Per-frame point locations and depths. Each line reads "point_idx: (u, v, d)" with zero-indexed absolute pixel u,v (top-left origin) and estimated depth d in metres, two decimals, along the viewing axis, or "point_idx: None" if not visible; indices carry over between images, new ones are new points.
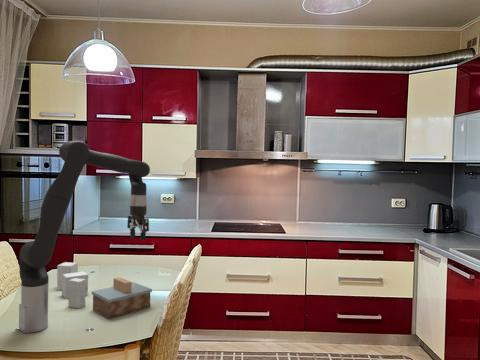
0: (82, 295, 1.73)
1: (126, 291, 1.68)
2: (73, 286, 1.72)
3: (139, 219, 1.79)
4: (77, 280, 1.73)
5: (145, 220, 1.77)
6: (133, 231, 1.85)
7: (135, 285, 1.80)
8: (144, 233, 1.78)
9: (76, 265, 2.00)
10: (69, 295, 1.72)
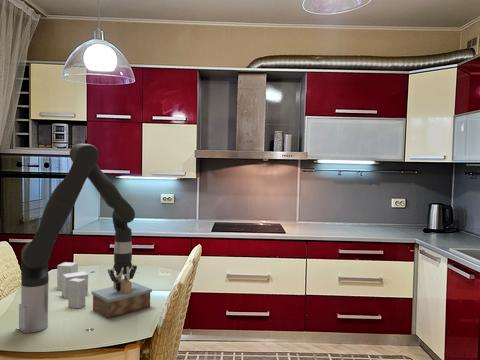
0: (82, 295, 1.73)
1: (126, 291, 1.68)
2: (73, 286, 1.72)
3: (130, 267, 1.74)
4: (77, 280, 1.73)
5: None
6: None
7: (135, 285, 1.80)
8: None
9: (76, 265, 2.00)
10: (69, 295, 1.72)
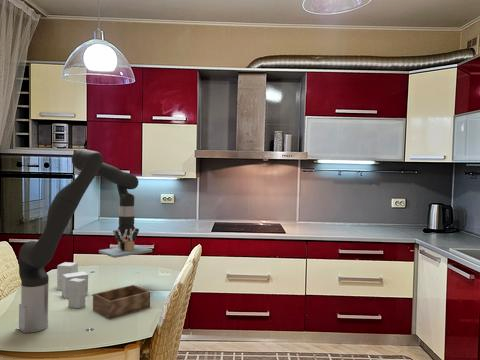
0: (82, 295, 1.73)
1: (129, 250, 1.90)
2: (73, 286, 1.72)
3: (132, 229, 1.96)
4: (77, 280, 1.73)
5: None
6: None
7: (137, 246, 2.02)
8: None
9: (76, 265, 2.00)
10: (69, 295, 1.72)
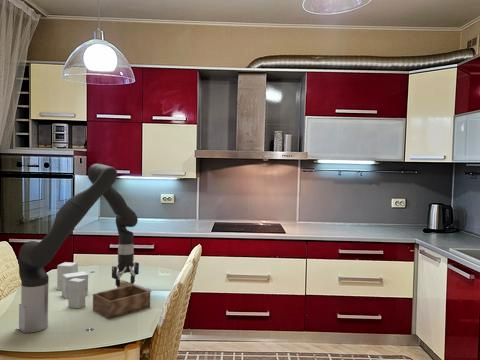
0: (82, 295, 1.73)
1: None
2: (73, 286, 1.72)
3: (131, 265, 1.96)
4: (77, 280, 1.73)
5: None
6: None
7: None
8: None
9: (76, 265, 2.00)
10: (69, 295, 1.72)
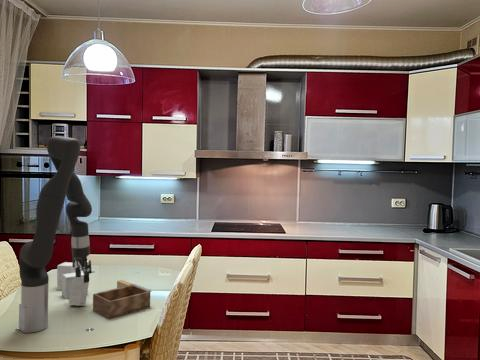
0: (84, 293, 1.74)
1: None
2: (77, 283, 1.74)
3: None
4: (81, 277, 1.76)
5: None
6: None
7: None
8: None
9: None
10: (72, 292, 1.74)
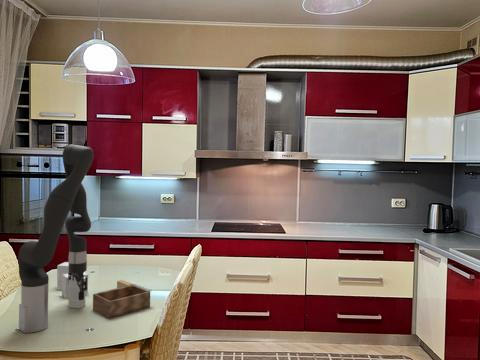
0: None
1: None
2: (73, 286, 1.72)
3: None
4: None
5: None
6: None
7: None
8: None
9: None
10: (69, 295, 1.72)
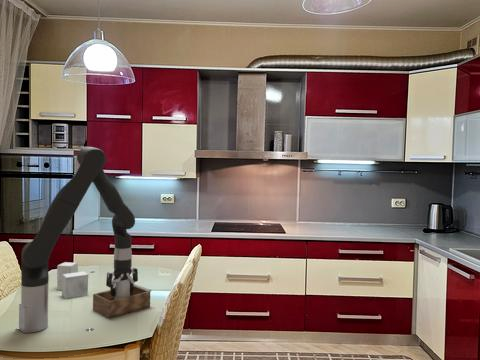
0: (118, 296, 1.70)
1: None
2: None
3: (129, 271, 1.74)
4: None
5: None
6: None
7: None
8: None
9: (76, 265, 2.00)
10: None
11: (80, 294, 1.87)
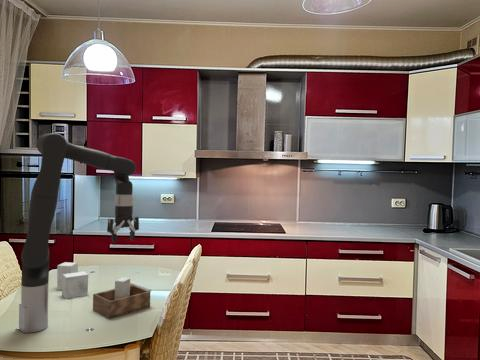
0: (118, 296, 1.70)
1: None
2: None
3: (130, 219, 1.73)
4: (120, 279, 1.72)
5: None
6: None
7: None
8: None
9: (76, 265, 2.00)
10: None
11: (80, 294, 1.87)
